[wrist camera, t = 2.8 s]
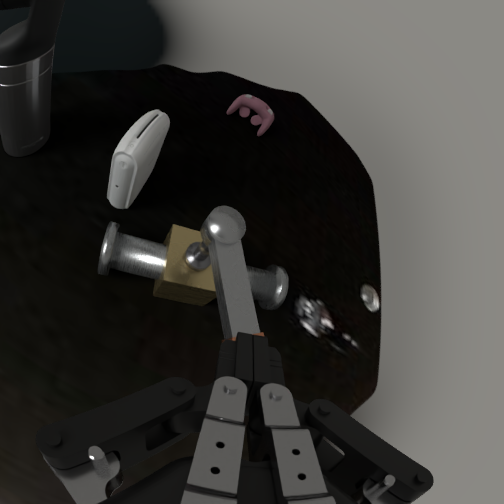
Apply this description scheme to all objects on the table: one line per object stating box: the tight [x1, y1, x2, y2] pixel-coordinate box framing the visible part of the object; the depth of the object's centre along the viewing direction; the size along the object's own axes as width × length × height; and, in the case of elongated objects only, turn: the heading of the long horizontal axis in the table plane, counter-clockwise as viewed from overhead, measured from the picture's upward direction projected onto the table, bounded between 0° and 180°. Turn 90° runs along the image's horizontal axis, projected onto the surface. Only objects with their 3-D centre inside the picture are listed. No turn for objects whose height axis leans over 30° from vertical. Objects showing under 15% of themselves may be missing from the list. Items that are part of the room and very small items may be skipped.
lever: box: [200, 206, 264, 343], centre depth 24 cm, size 17×4×2 cm, turn 13°
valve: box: [98, 222, 288, 310], centre depth 33 cm, size 24×7×13 cm, turn 88°
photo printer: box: [107, 110, 170, 209], centre depth 34 cm, size 10×4×12 cm, turn 166°
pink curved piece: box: [227, 95, 274, 136], centre depth 57 cm, size 10×5×7 cm, turn 65°
